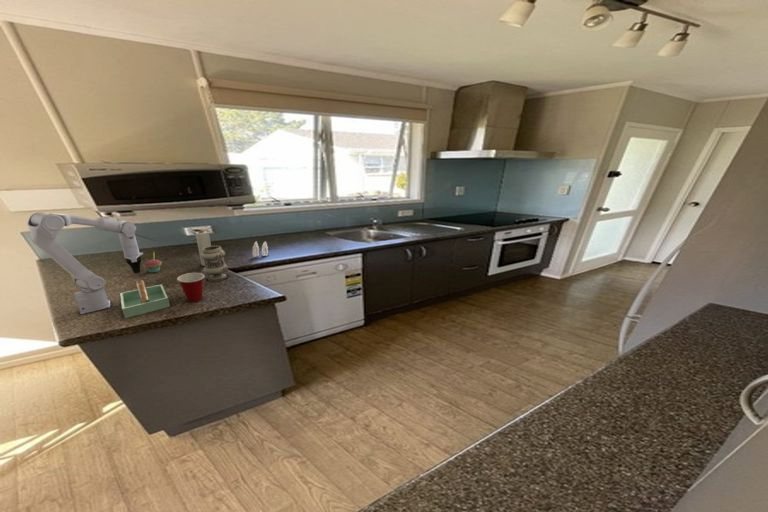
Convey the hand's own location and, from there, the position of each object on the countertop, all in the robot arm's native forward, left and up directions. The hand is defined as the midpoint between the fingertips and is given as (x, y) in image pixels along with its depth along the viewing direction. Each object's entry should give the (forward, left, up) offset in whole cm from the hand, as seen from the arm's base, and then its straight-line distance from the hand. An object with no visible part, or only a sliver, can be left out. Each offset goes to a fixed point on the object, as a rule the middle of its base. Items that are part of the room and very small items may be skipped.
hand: (137, 272), depth 141 cm
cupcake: (+8, +29, -10) cm, 32 cm away
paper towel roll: (+34, +22, -11) cm, 42 cm away
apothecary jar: (+33, -5, -11) cm, 35 cm away
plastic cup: (+18, -27, -11) cm, 34 cm away
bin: (0, -18, -10) cm, 21 cm away
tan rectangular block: (0, -14, -6) cm, 15 cm away
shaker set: (+35, -16, -10) cm, 39 cm away
